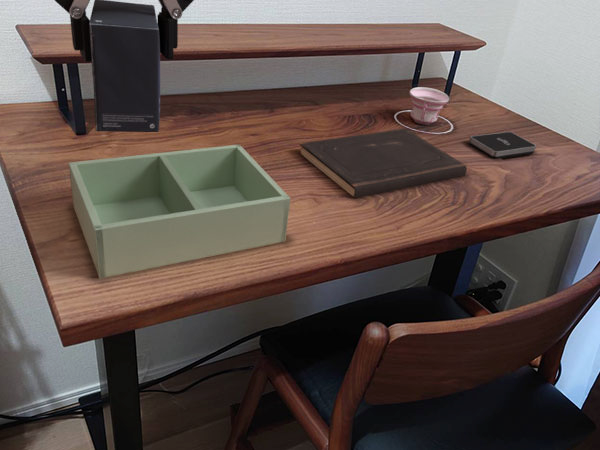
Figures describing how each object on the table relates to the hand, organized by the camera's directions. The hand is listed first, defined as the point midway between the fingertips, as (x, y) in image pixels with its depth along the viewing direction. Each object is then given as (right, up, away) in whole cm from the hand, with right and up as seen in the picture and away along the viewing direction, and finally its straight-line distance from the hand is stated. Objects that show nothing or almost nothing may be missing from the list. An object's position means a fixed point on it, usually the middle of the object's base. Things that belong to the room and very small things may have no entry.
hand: (127, 55), depth 56 cm
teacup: (+42, +3, +56) cm, 70 cm away
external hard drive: (+55, -3, +49) cm, 74 cm away
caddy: (+2, -17, +14) cm, 23 cm away
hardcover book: (+31, -8, +36) cm, 48 cm away
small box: (-1, -5, +3) cm, 6 cm away
